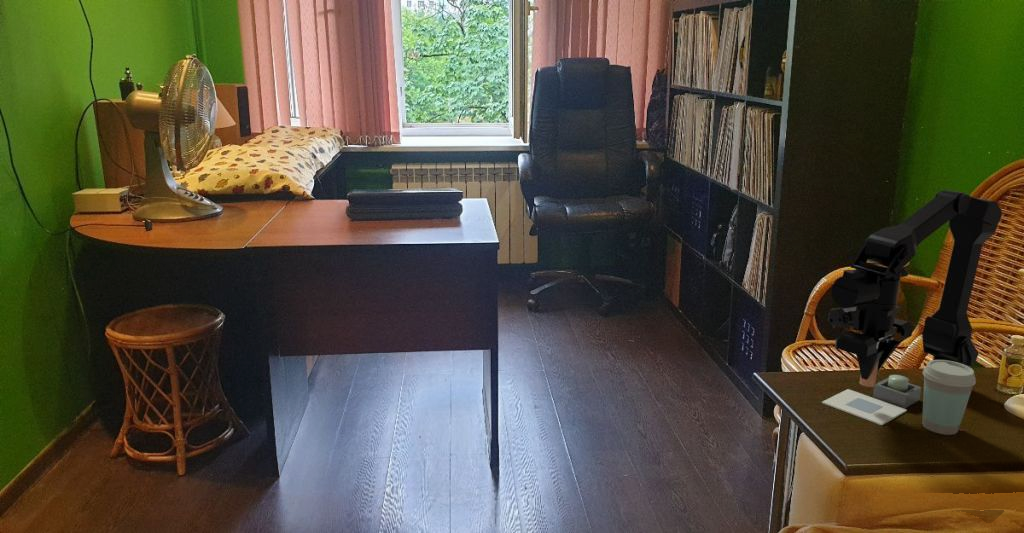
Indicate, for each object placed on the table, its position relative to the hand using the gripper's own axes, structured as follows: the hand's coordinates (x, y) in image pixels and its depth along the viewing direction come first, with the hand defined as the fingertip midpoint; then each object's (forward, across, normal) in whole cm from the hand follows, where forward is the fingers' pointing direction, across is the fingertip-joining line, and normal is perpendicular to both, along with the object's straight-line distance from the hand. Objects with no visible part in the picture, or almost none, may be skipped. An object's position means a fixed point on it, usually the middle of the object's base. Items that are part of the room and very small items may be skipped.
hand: (868, 376), depth 149 cm
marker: (+2, 0, 0) cm, 2 cm away
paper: (+6, 0, 0) cm, 6 cm away
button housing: (+6, -9, +2) cm, 11 cm away
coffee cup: (+7, -3, +13) cm, 15 cm away
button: (+4, -9, +2) cm, 10 cm away
